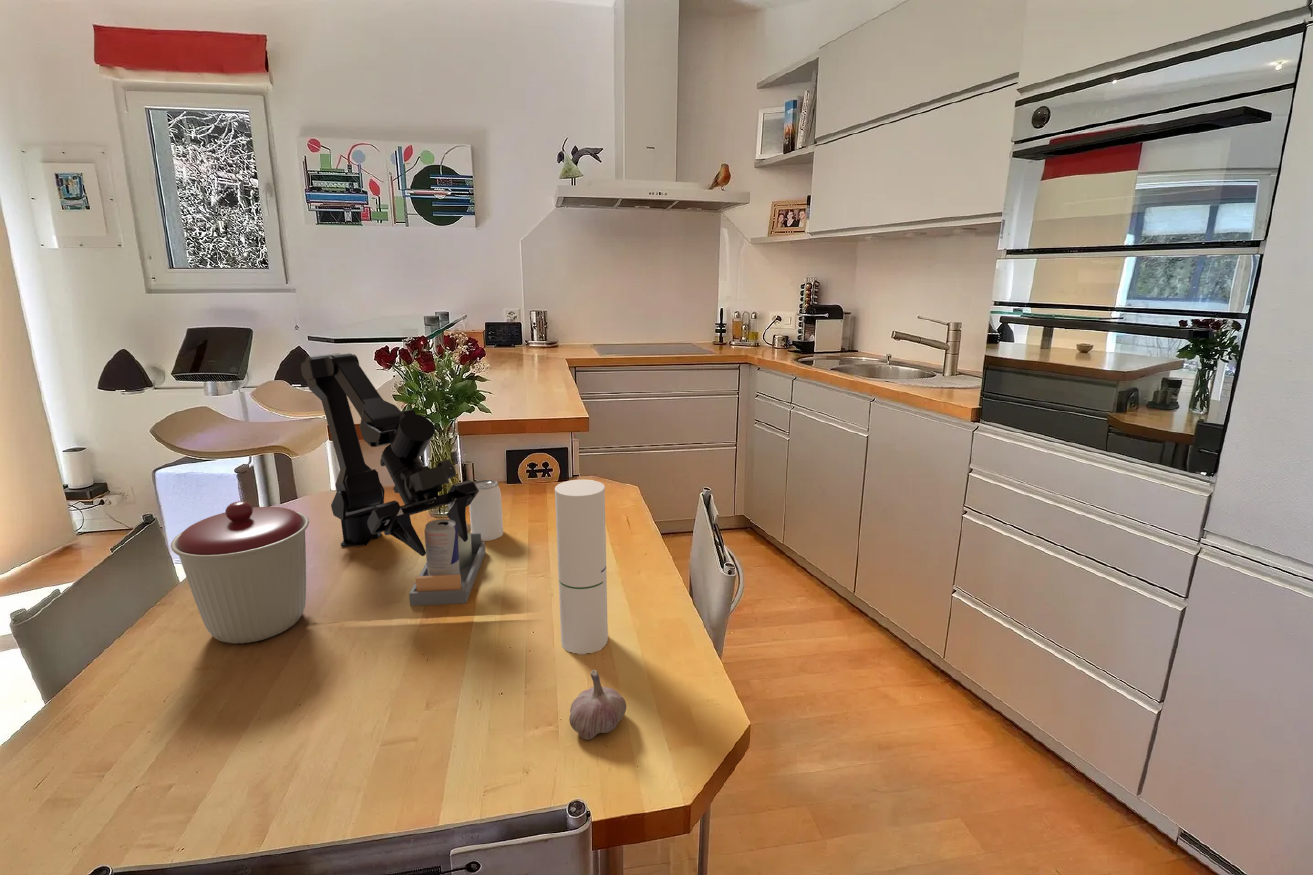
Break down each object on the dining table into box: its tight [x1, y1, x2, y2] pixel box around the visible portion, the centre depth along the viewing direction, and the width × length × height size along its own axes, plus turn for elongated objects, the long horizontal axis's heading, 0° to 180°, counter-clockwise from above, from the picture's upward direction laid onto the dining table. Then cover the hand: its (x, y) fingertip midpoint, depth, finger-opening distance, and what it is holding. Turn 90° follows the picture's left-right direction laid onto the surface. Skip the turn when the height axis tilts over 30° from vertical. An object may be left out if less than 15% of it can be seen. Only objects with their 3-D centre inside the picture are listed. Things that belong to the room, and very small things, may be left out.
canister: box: [170, 500, 310, 645], centre depth 103 cm, size 18×18×21 cm
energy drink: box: [424, 518, 460, 576], centre depth 114 cm, size 5×5×12 cm
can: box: [468, 479, 504, 542], centre depth 137 cm, size 6×6×12 cm
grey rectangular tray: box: [408, 533, 486, 607], centre depth 120 cm, size 9×20×5 cm, turn 5°
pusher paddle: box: [415, 575, 462, 592], centre depth 111 cm, size 7×1×4 cm, turn 95°
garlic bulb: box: [568, 669, 627, 741], centre depth 82 cm, size 8×7×8 cm
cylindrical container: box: [554, 479, 609, 655], centre depth 98 cm, size 7×7×25 cm
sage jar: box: [458, 522, 473, 568], centre depth 125 cm, size 6×6×7 cm
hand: (445, 547), depth 113 cm, fingers open, 8 cm apart
